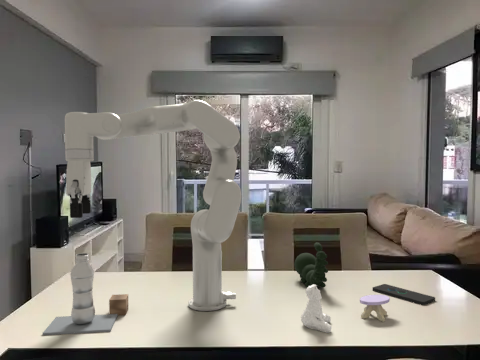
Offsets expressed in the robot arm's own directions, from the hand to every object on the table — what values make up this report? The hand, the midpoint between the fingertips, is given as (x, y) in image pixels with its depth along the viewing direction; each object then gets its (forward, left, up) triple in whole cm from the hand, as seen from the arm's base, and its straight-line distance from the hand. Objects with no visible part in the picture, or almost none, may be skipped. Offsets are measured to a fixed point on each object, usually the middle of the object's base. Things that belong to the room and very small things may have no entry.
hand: (80, 215), depth 118 cm
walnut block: (-9, -9, -32) cm, 34 cm away
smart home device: (-106, -12, -33) cm, 112 cm away
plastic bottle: (0, 0, -32) cm, 32 cm away
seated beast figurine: (-67, +10, -32) cm, 75 cm away
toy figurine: (-78, -30, -32) cm, 89 cm away
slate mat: (0, 0, -32) cm, 32 cm away
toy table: (-87, +5, -32) cm, 93 cm away
